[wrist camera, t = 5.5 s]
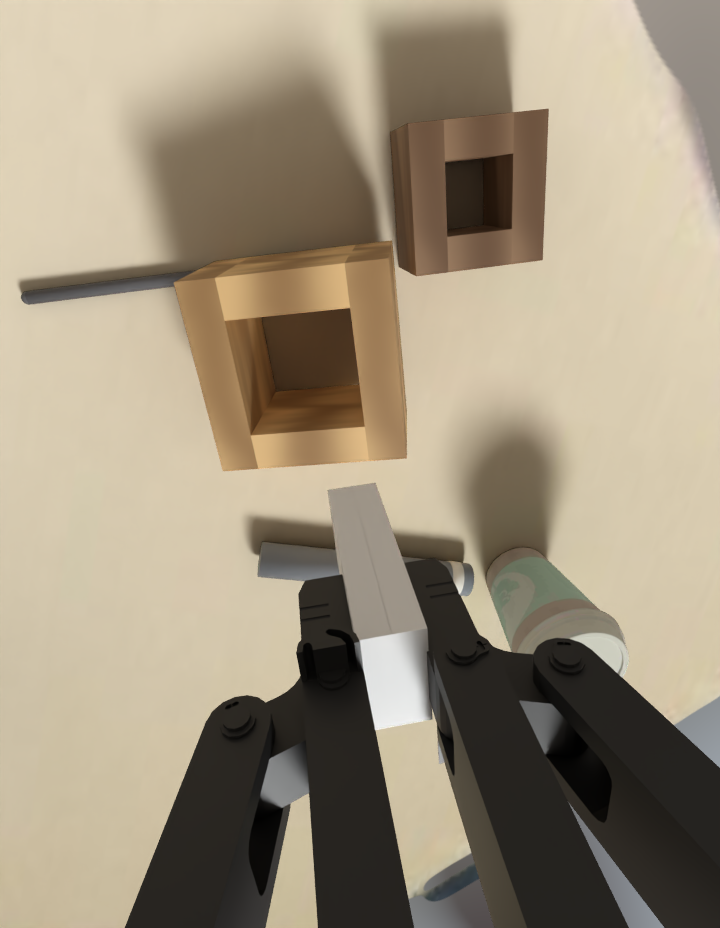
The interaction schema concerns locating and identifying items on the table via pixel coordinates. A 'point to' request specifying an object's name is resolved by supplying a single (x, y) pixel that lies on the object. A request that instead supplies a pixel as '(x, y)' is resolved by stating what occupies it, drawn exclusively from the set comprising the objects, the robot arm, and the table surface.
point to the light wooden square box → (249, 370)
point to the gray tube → (333, 565)
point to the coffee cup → (549, 608)
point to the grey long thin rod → (102, 288)
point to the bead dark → (504, 191)
